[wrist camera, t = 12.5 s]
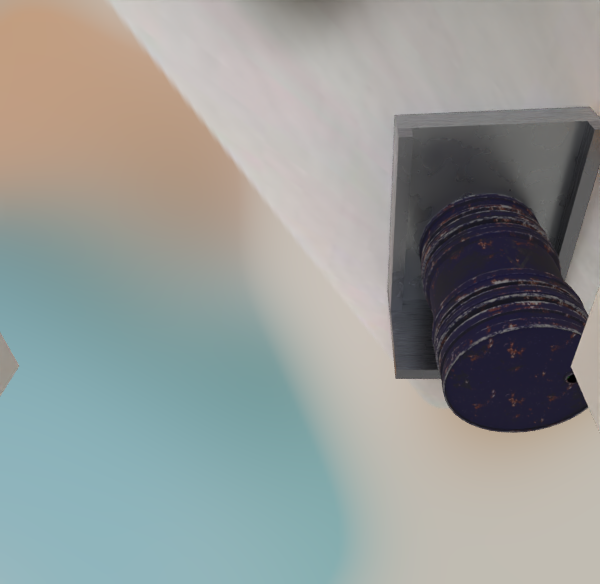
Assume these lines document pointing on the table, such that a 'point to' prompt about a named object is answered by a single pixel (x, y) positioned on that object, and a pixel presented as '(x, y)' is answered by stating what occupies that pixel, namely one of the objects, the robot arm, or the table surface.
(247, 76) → the table surface
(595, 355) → the robot arm
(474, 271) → the dark navy cylinder
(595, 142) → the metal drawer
